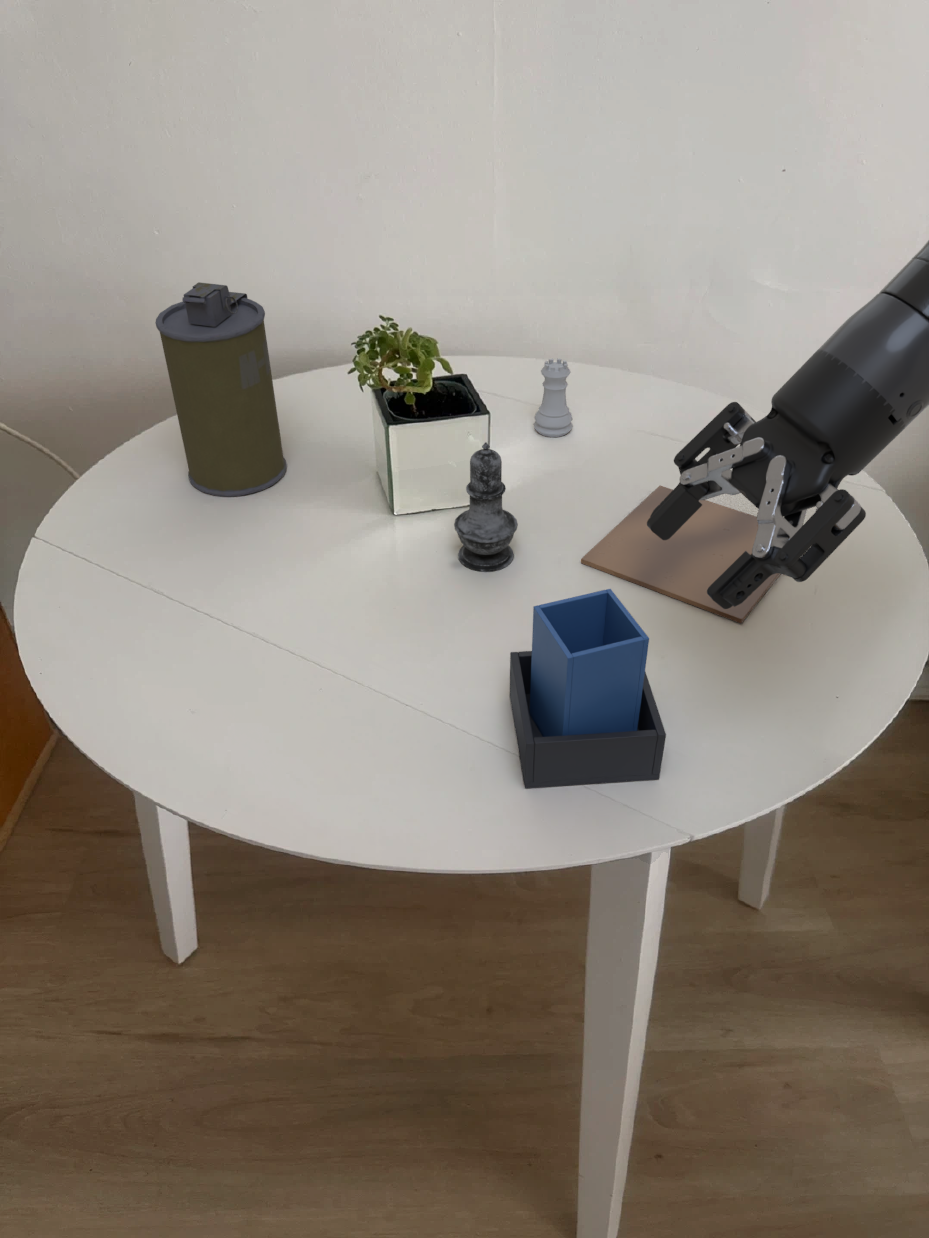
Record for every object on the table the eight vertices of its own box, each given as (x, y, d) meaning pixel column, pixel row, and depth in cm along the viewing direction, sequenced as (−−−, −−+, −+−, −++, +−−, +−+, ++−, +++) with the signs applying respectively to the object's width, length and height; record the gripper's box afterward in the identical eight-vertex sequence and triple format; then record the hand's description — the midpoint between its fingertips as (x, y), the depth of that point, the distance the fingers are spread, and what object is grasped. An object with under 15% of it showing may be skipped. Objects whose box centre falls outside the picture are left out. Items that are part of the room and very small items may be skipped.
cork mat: (809, 538, 96) (810, 533, 95) (741, 624, 86) (742, 619, 85) (659, 489, 103) (659, 485, 103) (580, 563, 93) (580, 558, 93)
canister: (259, 503, 102) (227, 314, 90) (170, 488, 105) (127, 302, 92) (304, 453, 110) (281, 273, 98) (220, 440, 113) (187, 263, 100)
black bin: (631, 688, 80) (636, 644, 77) (659, 779, 72) (666, 734, 69) (509, 695, 79) (510, 651, 76) (524, 788, 71) (526, 743, 69)
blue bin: (600, 695, 78) (610, 588, 72) (635, 747, 74) (649, 638, 67) (529, 713, 77) (533, 606, 70) (560, 767, 72) (567, 658, 66)
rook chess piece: (579, 425, 114) (583, 360, 109) (561, 442, 111) (564, 375, 106) (545, 416, 116) (547, 351, 111) (526, 432, 113) (528, 366, 108)
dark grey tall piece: (446, 567, 93) (443, 454, 85) (465, 534, 97) (463, 423, 90) (507, 578, 91) (509, 463, 84) (523, 543, 96) (526, 431, 88)
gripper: (774, 311, 67) (606, 489, 71) (914, 401, 57) (707, 603, 61) (824, 373, 72) (664, 536, 76) (963, 466, 61) (767, 650, 66)
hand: (684, 566), depth 68 cm, fingers open, 8 cm apart
